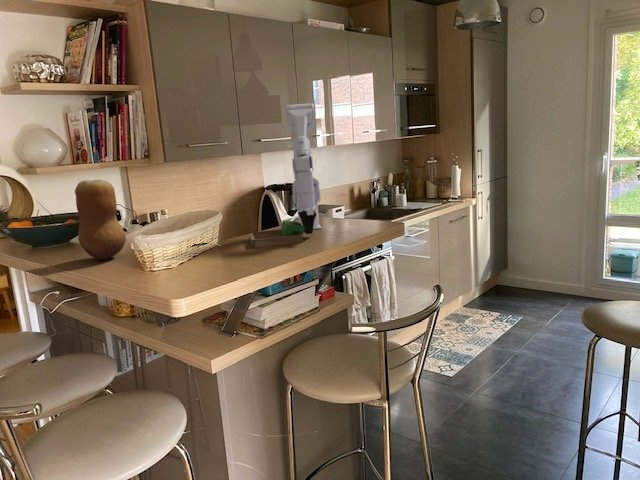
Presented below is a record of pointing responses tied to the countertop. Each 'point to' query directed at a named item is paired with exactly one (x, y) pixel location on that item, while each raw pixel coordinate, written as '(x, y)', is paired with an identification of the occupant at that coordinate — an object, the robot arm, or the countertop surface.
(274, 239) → the tray
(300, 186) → the robot arm
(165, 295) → the countertop surface
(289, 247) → the countertop surface
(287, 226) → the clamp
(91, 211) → the butternut squash
